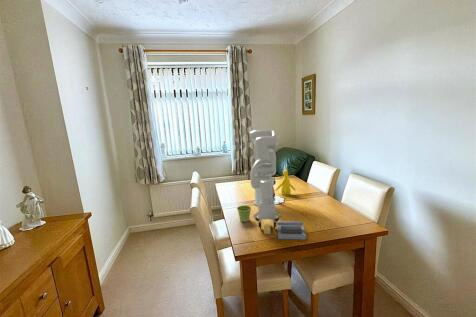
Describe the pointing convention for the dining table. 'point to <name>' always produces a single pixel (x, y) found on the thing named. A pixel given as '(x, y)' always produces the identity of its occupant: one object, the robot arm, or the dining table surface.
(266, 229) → the butter stick
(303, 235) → the slot rack
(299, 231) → the dark gray block
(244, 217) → the plant pot
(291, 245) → the dining table surface
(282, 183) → the figure statuette
